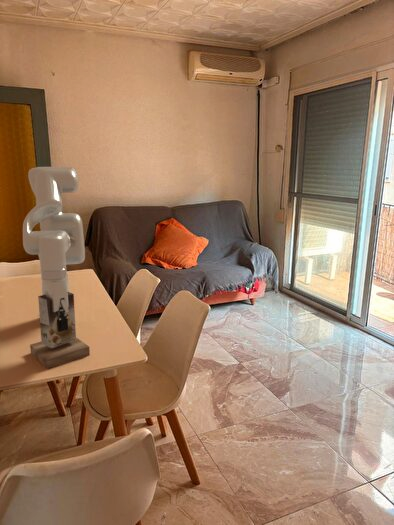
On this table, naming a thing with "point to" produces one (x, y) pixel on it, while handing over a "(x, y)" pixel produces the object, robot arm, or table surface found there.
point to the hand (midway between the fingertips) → (58, 326)
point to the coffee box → (55, 323)
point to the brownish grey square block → (59, 352)
